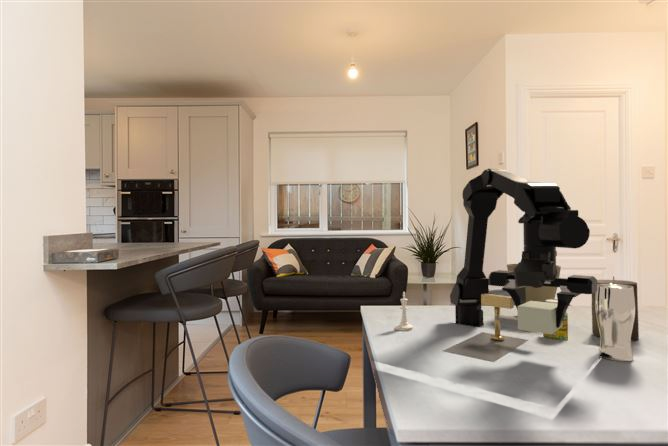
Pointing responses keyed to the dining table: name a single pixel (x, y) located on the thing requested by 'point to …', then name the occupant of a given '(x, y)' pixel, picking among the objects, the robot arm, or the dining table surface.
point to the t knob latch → (498, 303)
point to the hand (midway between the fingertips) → (540, 324)
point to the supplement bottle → (563, 331)
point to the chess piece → (404, 317)
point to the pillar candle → (635, 326)
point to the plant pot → (538, 289)
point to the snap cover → (538, 317)
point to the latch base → (485, 347)
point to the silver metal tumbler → (615, 320)
